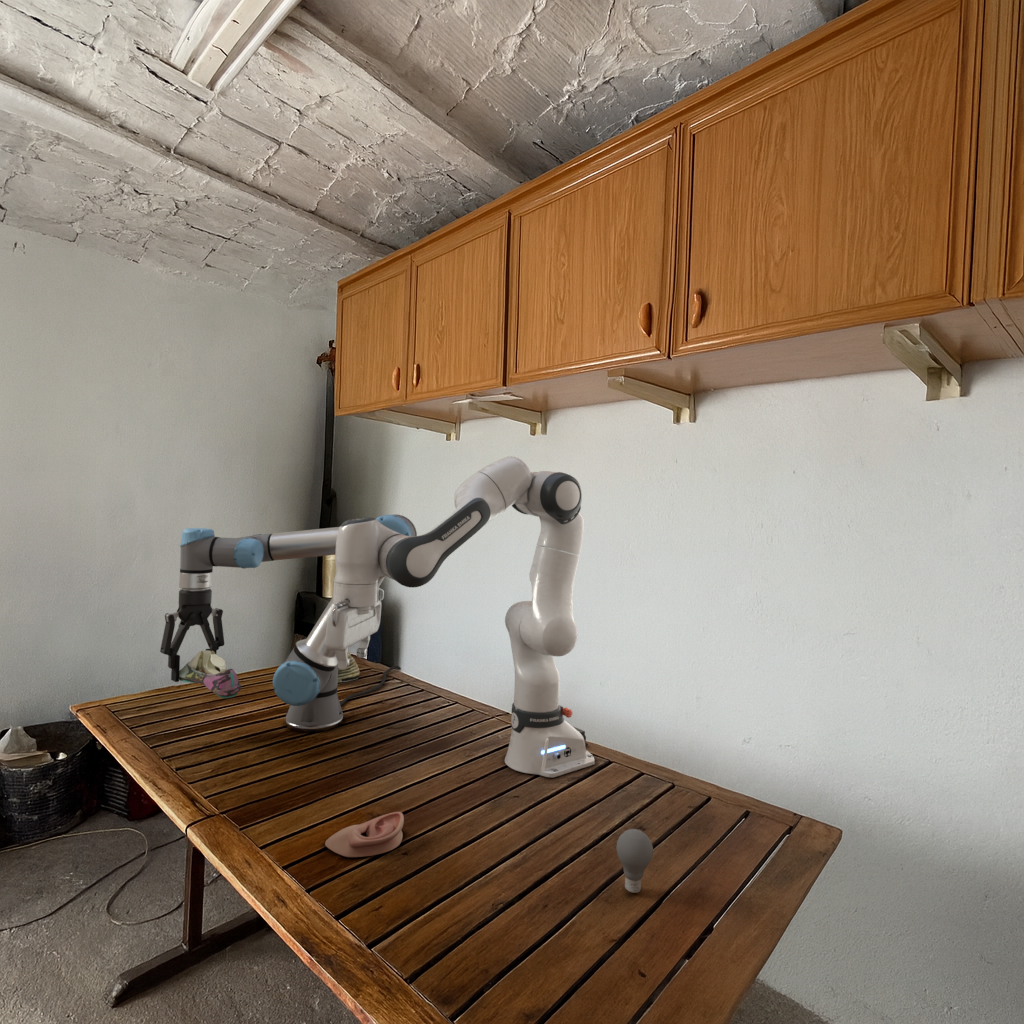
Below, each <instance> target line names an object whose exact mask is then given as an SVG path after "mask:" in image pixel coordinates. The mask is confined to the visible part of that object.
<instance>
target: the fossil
mask: <svg viewBox="0 0 1024 1024" xmlns="http://www.w3.org/2000/svg"><path fill="white" fill-rule="evenodd" d="M347 656H348V659H349V667H348V668H346V669H339V668H338V683H347V682H351V681H355V680H358V679H359V677H360V675H361V672H360V668H359V665H358V663H357V662H356V659H355V658H354V657H353V656H352V654H351V652H350V650H349V649H348V652H347Z"/></svg>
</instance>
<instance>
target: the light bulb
mask: <svg viewBox="0 0 1024 1024" xmlns="http://www.w3.org/2000/svg"><path fill="white" fill-rule="evenodd" d="M615 849H616V854H617V857H618V859H619V861H620V863H621V865H622V867H623V873H624V874H623V875H624V876H625V878H624V888H625V890H627V891H628V892H630V893H634V894H635V893H639V892H640V891H641V889H642V887H641V886H642V879H643V877H644V875H645V871H646V868H647V867H648V866H649V864H650V863H651V861H652V859H653V855H654V847H653V843H652V841H651V838H649V836H648V835H647V834H646V833H645V832H643V831H642V830H641V829H636V828H629V829H627V830H625V831H623V832H622V833H621V834H620V835H619V837H618V839H617V841H616V847H615Z"/></svg>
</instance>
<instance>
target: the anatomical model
mask: <svg viewBox="0 0 1024 1024" xmlns="http://www.w3.org/2000/svg"><path fill="white" fill-rule="evenodd" d="M404 823H405V818H404V814H403V812H401V811H393V812H390V813H386V814H383V815H380V816H377V817H375V818H372V819H370V820H368V821H365V822H362V823H360V824H353V825H350V826H349V825H348V826H347V827H344V828H342V829H340V830H339V831H337V832H335V833H334V834H332V835H331V836H329V837H328V839H326V841H325V843H324V845H325V847H326V848H327V849H328V850H330V851H332V852H334V853H335V854H337V855H340V856H342V857H345V858H362V857H363V858H364V857H371V856H376V855H381V854H385V853H387V852H390V851H393V850H394V849H396V848H397V847H399V846H400V845H401V843H402V840H403V835H404V834H403V831H402V829H403V828H404Z"/></svg>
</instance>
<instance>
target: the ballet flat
mask: <svg viewBox="0 0 1024 1024" xmlns="http://www.w3.org/2000/svg"><path fill="white" fill-rule="evenodd" d="M179 682H184V683H190V684H191V683H193V684H201V685H203V686H204V687H205V688H206V689H208V690H209V691H210V692H212V693H213V694H215V695H216V696H217V697H219V698H221V699H231V698H234V697H236V696H237V695H238V694H239V692H240V691H241V689H242V685H241V682H240V680H239V677H238V674H237V673H236V671H235V670H234V668H227V661H226V660H225V659H224V658H223V657H221V656H219V655H217V653H216V654H215V653H214V651H209V650H206V649H205V650H200V651H199V652H198V653H197V654H196V655H195V656H193V658H192V659H191V660H190V661H188V662H187V663H186V664H185V665H184V666H183V667H182V668H180V669H179Z"/></svg>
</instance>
